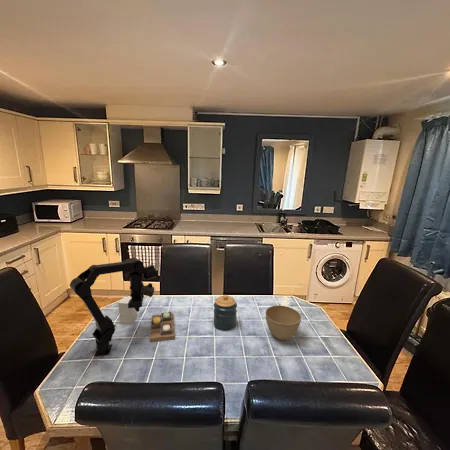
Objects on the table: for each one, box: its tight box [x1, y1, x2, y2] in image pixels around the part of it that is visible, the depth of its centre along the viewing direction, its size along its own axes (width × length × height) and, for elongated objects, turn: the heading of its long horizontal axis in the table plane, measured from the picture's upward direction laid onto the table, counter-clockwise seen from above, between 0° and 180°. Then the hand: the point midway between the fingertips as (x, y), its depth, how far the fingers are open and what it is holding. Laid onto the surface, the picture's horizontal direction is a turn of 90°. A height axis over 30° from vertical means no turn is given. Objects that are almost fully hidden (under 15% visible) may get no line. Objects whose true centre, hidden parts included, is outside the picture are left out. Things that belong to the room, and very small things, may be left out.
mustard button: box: [153, 317, 161, 325], centre depth 135 cm, size 4×4×2 cm
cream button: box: [163, 325, 170, 331], centre depth 130 cm, size 4×4×2 cm
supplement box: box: [117, 296, 138, 325], centre depth 142 cm, size 7×7×13 cm
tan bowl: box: [265, 305, 302, 341], centre depth 132 cm, size 18×18×12 cm
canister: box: [213, 294, 238, 331], centre depth 140 cm, size 13×13×18 cm
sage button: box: [163, 311, 170, 318], centre depth 142 cm, size 4×4×2 cm
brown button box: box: [149, 311, 176, 343], centre depth 136 cm, size 21×12×4 cm, turn 13°
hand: (137, 311), depth 129 cm, fingers closed
